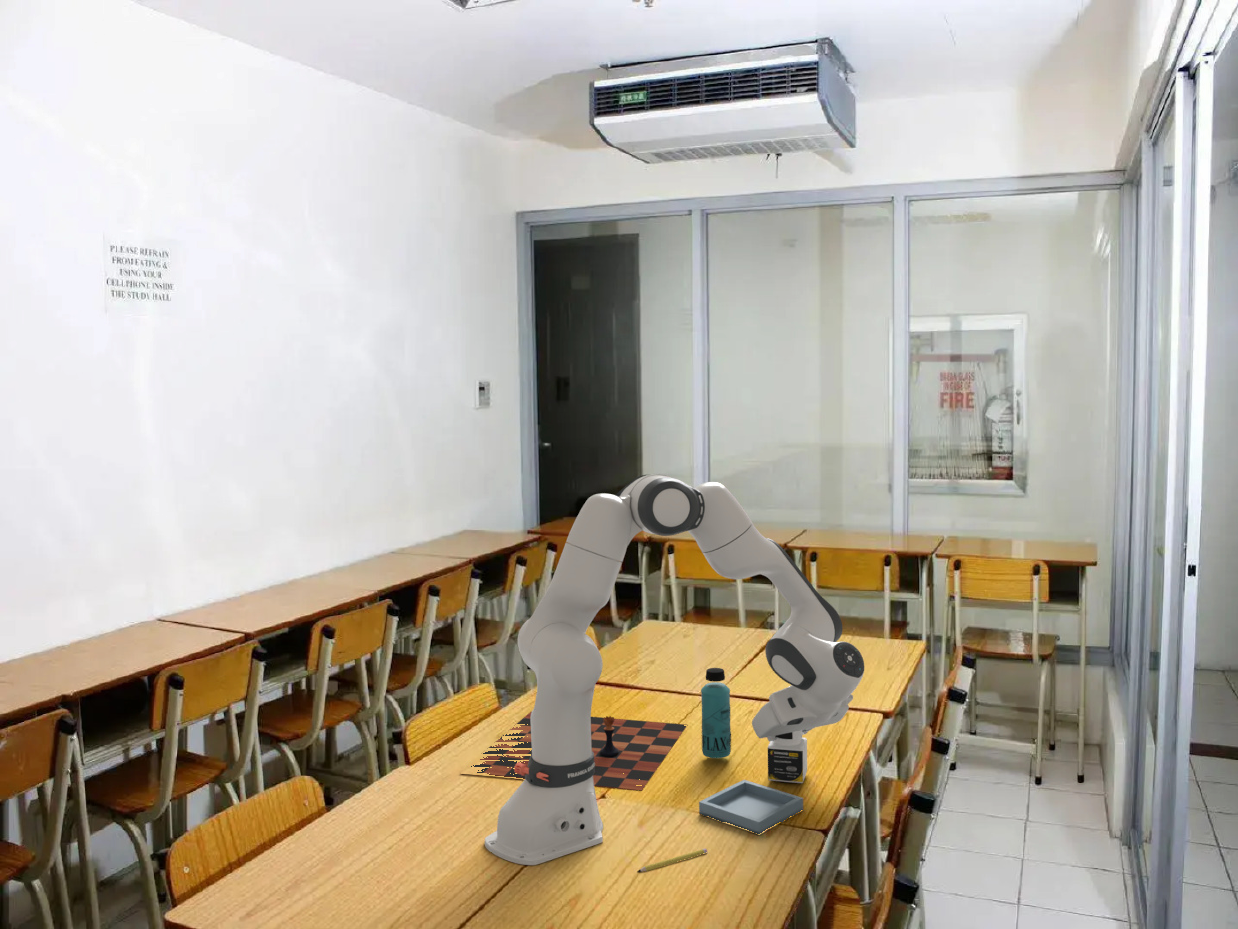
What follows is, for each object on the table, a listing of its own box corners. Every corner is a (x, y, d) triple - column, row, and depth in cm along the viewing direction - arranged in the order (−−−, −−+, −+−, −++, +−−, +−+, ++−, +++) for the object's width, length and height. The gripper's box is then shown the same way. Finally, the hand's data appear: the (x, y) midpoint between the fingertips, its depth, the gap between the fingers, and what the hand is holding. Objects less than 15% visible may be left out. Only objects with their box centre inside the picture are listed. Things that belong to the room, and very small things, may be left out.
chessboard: (461, 776, 223) (459, 725, 222) (531, 715, 261) (529, 672, 260) (641, 795, 211) (641, 742, 210) (687, 729, 249) (687, 683, 248)
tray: (759, 835, 189) (758, 822, 189) (699, 814, 199) (699, 801, 199) (803, 810, 199) (803, 798, 199) (744, 791, 209) (744, 779, 209)
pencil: (635, 873, 177) (634, 867, 177) (704, 853, 184) (704, 847, 184) (637, 875, 176) (637, 870, 176) (707, 855, 183) (707, 849, 183)
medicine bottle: (767, 780, 212) (766, 723, 211) (773, 768, 219) (772, 712, 218) (803, 784, 210) (802, 725, 209) (807, 771, 217) (806, 714, 216)
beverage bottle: (696, 762, 225) (694, 671, 223) (708, 752, 231) (706, 663, 229) (725, 767, 222) (723, 675, 220) (736, 756, 228) (734, 666, 226)
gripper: (849, 679, 211) (820, 712, 221) (764, 694, 202) (737, 729, 212) (863, 706, 208) (833, 740, 217) (777, 723, 199) (750, 757, 208)
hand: (785, 734), depth 214 cm, fingers closed on medicine bottle, 6 cm apart
